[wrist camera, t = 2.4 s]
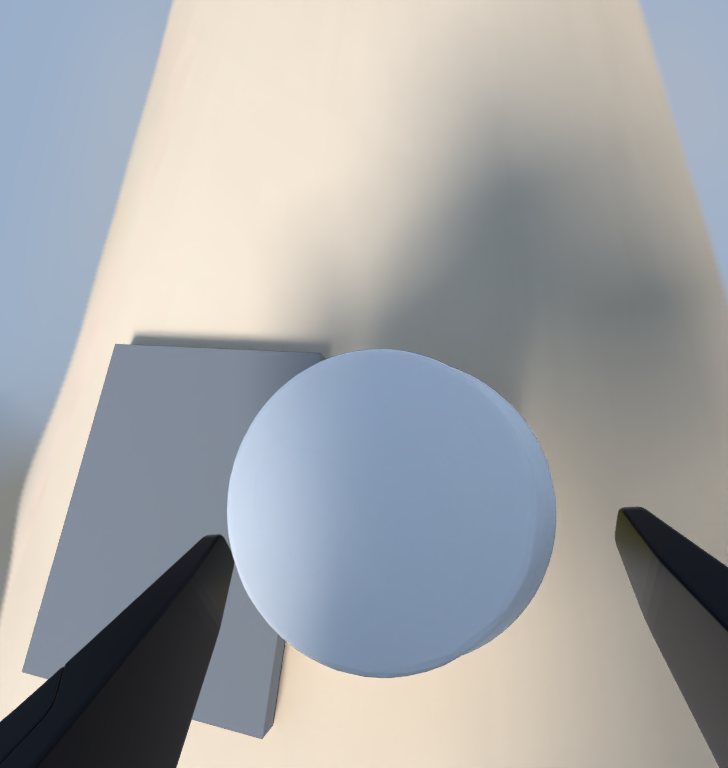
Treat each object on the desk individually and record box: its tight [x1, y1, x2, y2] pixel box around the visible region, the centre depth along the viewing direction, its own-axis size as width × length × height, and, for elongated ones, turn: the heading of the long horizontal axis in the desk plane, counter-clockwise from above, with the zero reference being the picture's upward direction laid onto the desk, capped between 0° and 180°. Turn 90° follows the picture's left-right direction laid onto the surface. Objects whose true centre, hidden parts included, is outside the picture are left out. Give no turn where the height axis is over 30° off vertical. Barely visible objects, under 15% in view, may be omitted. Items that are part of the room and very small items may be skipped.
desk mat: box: [22, 344, 326, 739], centre depth 20 cm, size 16×12×1 cm
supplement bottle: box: [227, 349, 556, 678], centre depth 12 cm, size 7×7×13 cm
